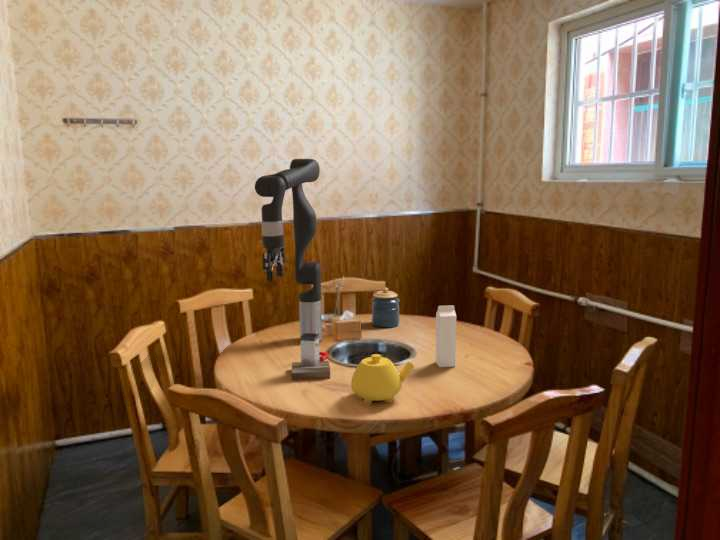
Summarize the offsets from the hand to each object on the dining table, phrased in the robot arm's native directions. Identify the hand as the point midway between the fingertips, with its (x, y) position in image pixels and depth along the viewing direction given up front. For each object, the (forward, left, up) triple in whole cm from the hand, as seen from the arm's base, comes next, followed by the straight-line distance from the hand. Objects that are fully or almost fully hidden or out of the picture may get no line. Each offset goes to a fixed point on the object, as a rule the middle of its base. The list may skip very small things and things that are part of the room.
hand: (275, 278), depth 196 cm
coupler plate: (+11, +12, -32) cm, 36 cm away
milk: (+8, +61, -32) cm, 69 cm away
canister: (-50, +48, -32) cm, 76 cm away
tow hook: (-7, +15, -33) cm, 36 cm away
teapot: (+35, +34, -32) cm, 59 cm away
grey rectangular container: (+10, +12, -30) cm, 33 cm away
